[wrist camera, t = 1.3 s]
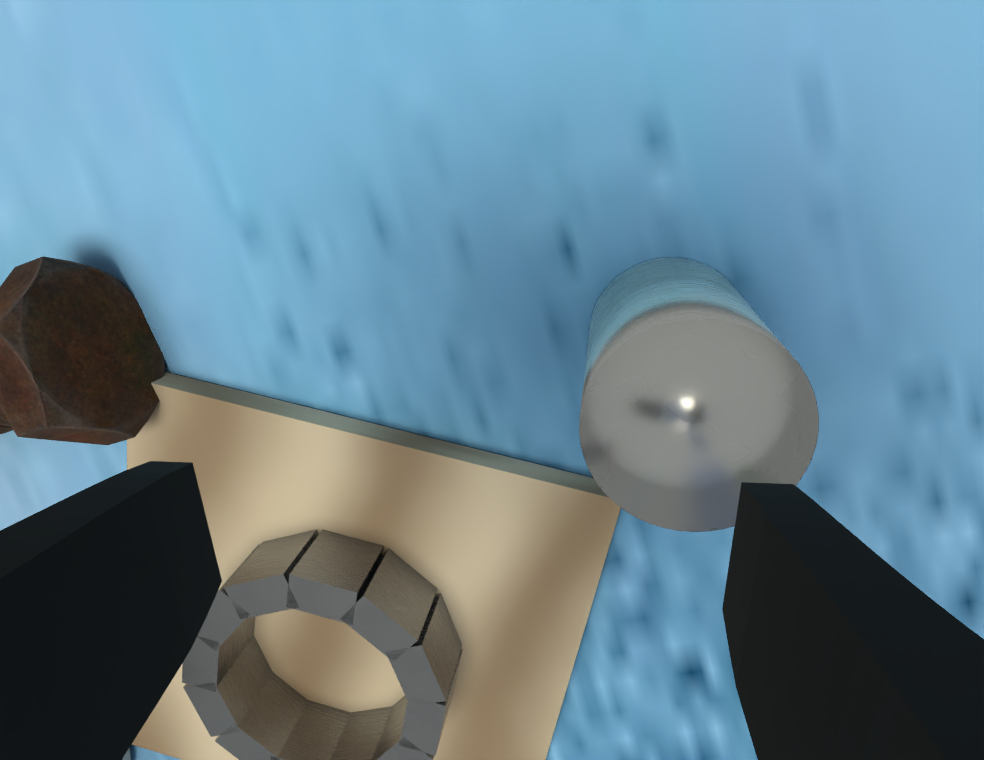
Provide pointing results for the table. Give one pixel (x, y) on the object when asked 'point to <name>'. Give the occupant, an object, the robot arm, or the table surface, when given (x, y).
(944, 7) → the table surface
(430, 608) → the steel ring
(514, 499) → the ring board
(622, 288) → the cylinder
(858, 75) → the table surface
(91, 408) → the bolt
